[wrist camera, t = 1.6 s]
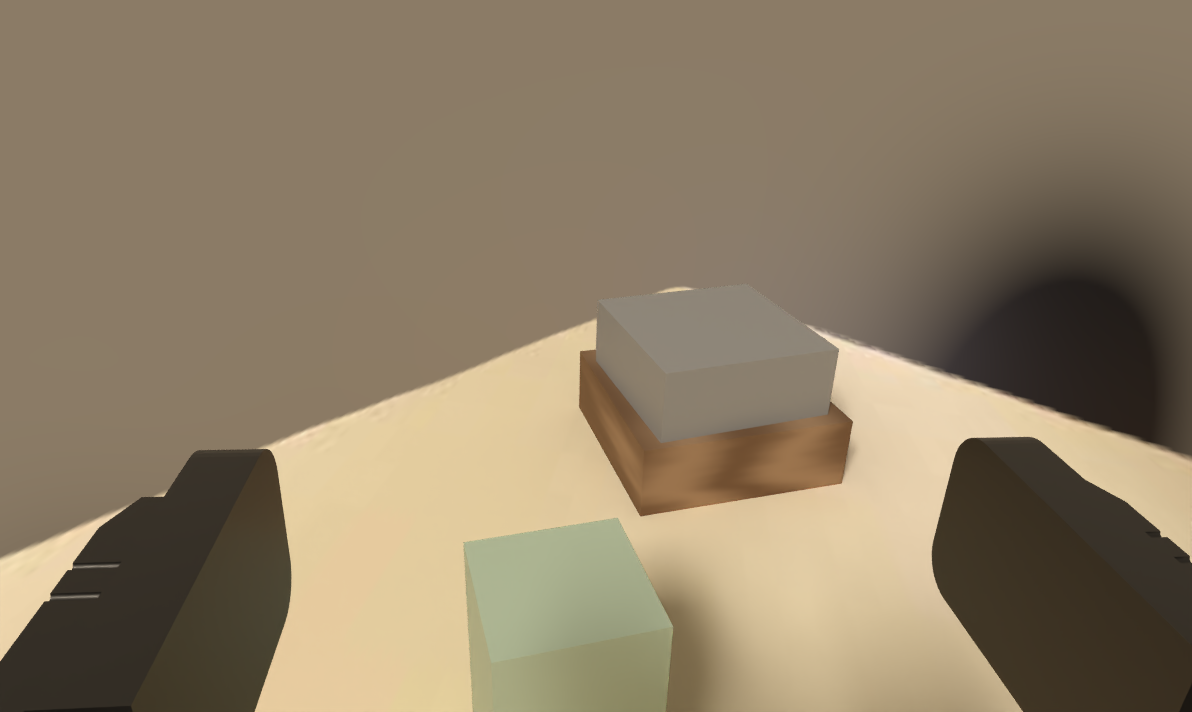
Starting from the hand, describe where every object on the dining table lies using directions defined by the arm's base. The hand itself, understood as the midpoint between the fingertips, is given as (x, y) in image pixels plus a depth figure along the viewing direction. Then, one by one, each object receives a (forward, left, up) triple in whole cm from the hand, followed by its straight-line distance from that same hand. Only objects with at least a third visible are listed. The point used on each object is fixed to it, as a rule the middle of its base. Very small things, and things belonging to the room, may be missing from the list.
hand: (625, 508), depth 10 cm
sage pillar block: (-2, -11, -21) cm, 23 cm away
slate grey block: (-16, -31, -17) cm, 39 cm away
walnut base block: (-16, -32, -21) cm, 41 cm away
